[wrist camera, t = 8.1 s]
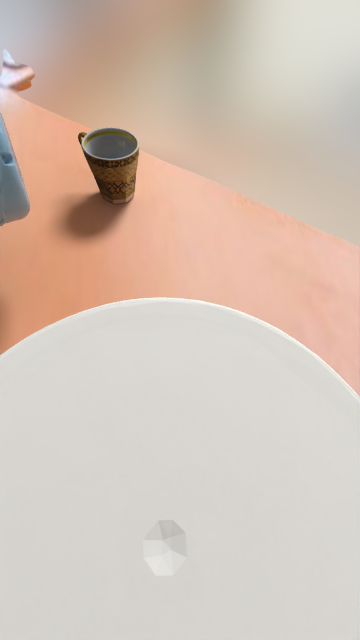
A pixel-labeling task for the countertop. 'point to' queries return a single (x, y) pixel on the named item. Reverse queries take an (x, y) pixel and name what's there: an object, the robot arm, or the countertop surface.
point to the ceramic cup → (112, 161)
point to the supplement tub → (176, 480)
